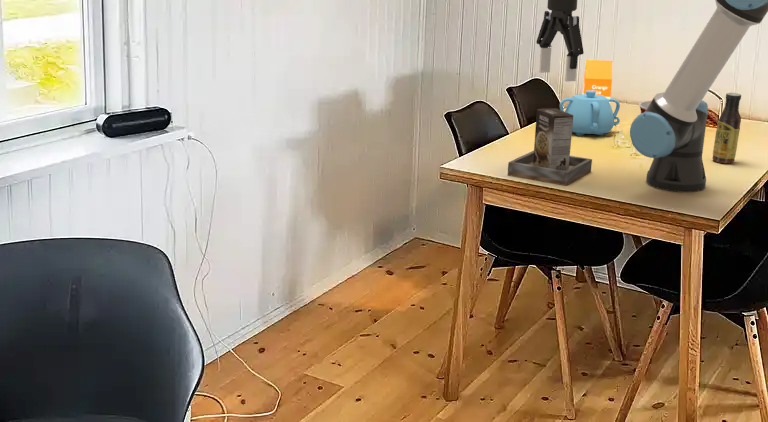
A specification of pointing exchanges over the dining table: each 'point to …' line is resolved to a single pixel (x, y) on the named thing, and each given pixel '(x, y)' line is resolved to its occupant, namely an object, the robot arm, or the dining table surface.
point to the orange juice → (598, 77)
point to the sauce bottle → (728, 130)
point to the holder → (549, 170)
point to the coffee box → (553, 139)
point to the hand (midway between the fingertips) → (557, 76)
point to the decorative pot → (591, 113)
